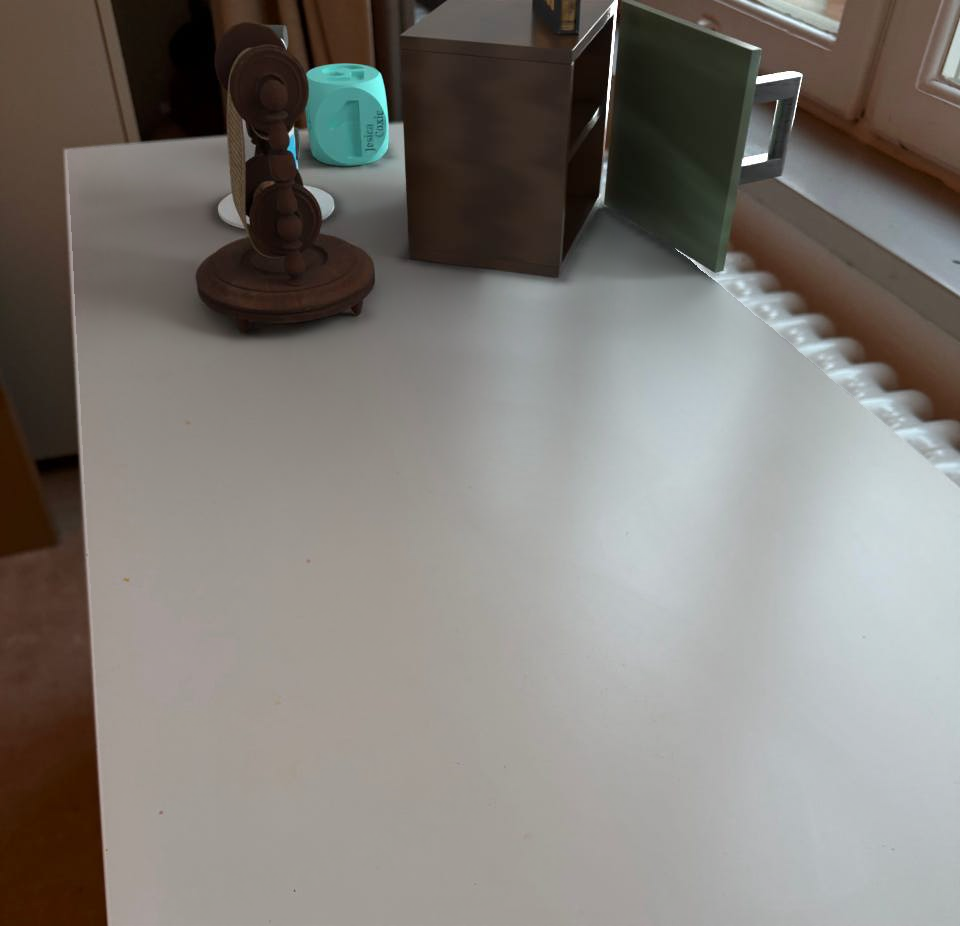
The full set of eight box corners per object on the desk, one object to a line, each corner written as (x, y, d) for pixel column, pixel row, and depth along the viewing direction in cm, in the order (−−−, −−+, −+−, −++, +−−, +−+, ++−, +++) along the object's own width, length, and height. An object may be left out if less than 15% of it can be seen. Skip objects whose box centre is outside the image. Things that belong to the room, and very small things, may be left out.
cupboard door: (667, 191, 106) (692, -9, 94) (783, 256, 94) (829, 38, 82) (603, 204, 103) (621, 0, 91) (714, 273, 92) (752, 50, 79)
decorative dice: (316, 169, 110) (308, 87, 104) (308, 144, 116) (300, 65, 110) (390, 163, 111) (386, 82, 106) (379, 139, 117) (374, 61, 111)
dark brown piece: (189, 275, 91) (139, 16, 77) (352, 253, 94) (332, 2, 81) (215, 352, 81) (163, 70, 67) (397, 324, 84) (382, 51, 71)
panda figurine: (324, 235, 97) (306, 58, 87) (205, 232, 98) (173, 56, 87) (341, 188, 106) (328, 22, 96) (232, 185, 106) (206, 20, 96)
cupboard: (600, 204, 103) (617, -3, 91) (558, 278, 91) (572, 50, 78) (466, 188, 106) (466, -15, 94) (408, 258, 94) (399, 35, 81)
